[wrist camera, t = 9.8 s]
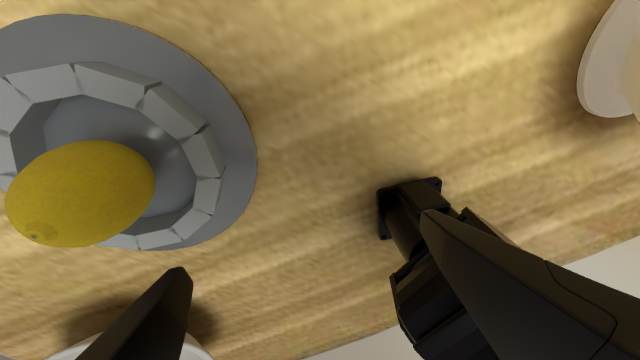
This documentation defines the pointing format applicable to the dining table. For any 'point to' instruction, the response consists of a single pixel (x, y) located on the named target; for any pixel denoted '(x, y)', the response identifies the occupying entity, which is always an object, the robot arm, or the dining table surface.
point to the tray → (128, 120)
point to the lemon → (80, 194)
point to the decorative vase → (612, 64)
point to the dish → (191, 354)
